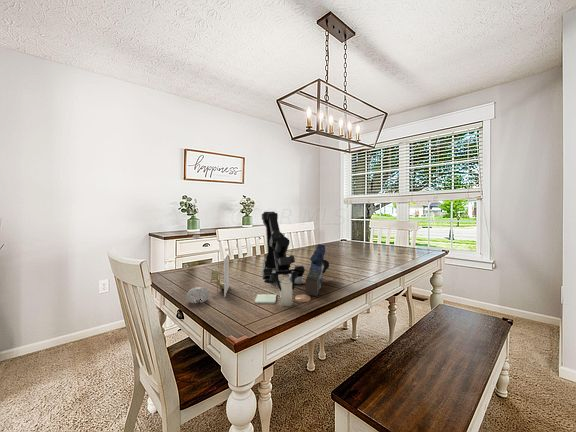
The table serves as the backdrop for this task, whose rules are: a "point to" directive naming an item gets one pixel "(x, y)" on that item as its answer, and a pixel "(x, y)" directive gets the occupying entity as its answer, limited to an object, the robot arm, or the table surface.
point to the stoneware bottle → (286, 291)
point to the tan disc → (302, 298)
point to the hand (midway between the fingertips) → (286, 289)
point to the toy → (316, 271)
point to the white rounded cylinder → (297, 279)
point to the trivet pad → (265, 299)
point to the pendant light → (197, 289)
